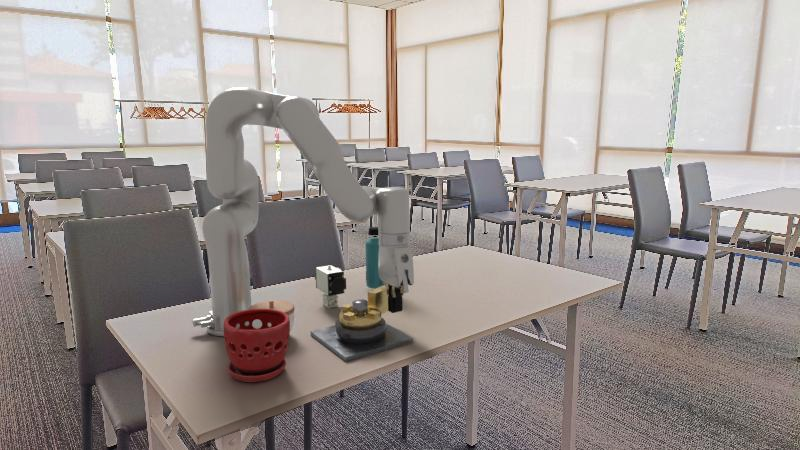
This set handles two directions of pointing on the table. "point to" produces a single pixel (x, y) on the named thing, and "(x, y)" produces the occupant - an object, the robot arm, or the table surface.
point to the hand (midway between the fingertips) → (395, 310)
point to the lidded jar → (275, 305)
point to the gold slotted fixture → (365, 310)
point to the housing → (360, 340)
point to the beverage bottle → (372, 260)
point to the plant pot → (256, 344)
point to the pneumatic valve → (330, 284)
